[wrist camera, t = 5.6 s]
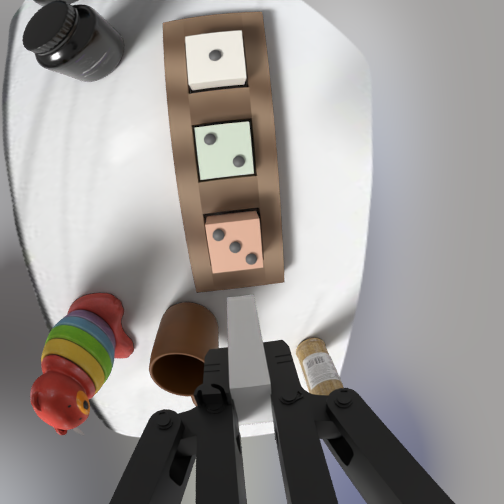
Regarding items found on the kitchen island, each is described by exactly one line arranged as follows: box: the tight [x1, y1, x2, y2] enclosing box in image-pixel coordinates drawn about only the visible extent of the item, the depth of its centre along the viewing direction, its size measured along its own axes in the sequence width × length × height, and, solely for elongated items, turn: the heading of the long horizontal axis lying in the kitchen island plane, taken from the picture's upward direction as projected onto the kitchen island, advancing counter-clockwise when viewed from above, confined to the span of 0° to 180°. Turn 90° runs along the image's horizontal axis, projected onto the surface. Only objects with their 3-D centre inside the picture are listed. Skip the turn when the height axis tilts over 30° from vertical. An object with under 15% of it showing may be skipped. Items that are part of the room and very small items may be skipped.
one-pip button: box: [185, 30, 246, 90], centre depth 20 cm, size 5×5×3 cm
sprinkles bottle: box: [296, 338, 344, 395], centre depth 32 cm, size 5×5×14 cm
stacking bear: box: [31, 293, 134, 435], centre depth 26 cm, size 11×10×18 cm
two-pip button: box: [195, 122, 254, 180], centre depth 25 cm, size 5×5×3 cm
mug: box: [149, 302, 219, 406], centre depth 31 cm, size 12×8×9 cm, turn 10°
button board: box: [163, 12, 284, 293], centre depth 26 cm, size 30×10×2 cm, turn 5°
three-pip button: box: [205, 211, 263, 273], centre depth 28 cm, size 5×5×3 cm
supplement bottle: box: [22, 0, 124, 82], centre depth 15 cm, size 7×7×12 cm
